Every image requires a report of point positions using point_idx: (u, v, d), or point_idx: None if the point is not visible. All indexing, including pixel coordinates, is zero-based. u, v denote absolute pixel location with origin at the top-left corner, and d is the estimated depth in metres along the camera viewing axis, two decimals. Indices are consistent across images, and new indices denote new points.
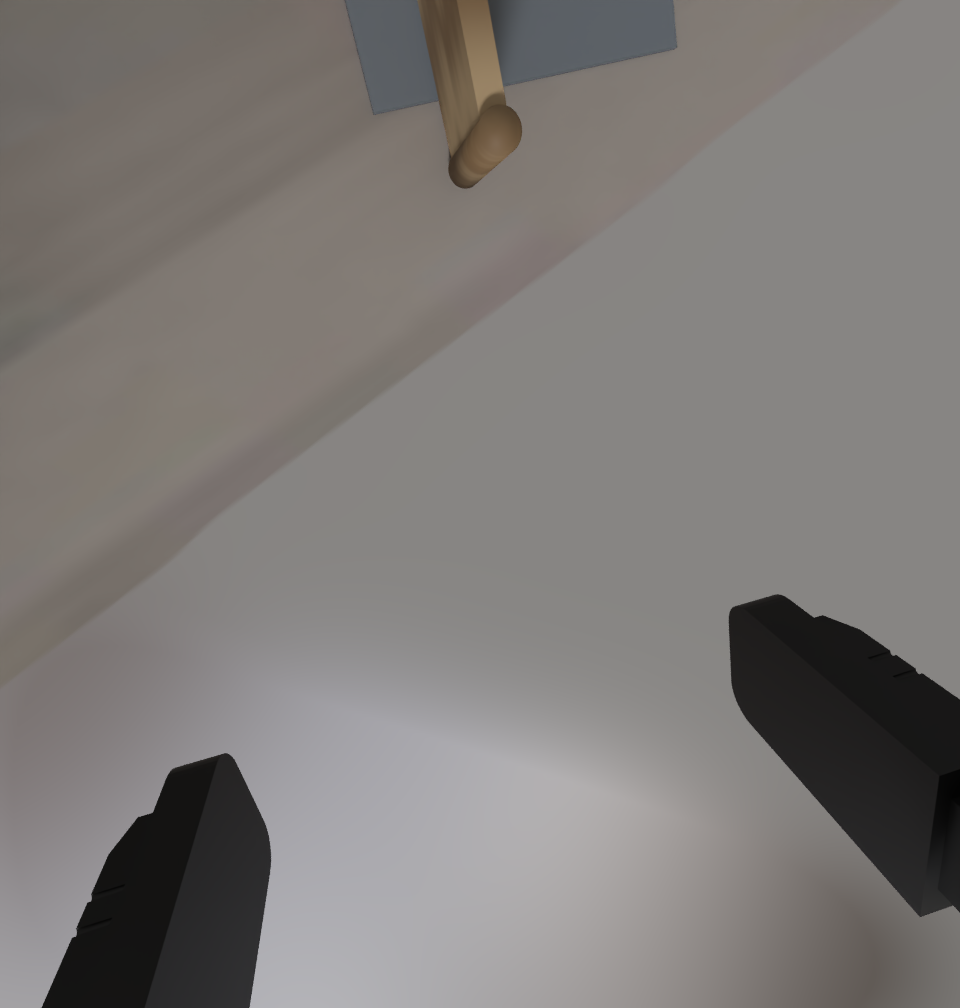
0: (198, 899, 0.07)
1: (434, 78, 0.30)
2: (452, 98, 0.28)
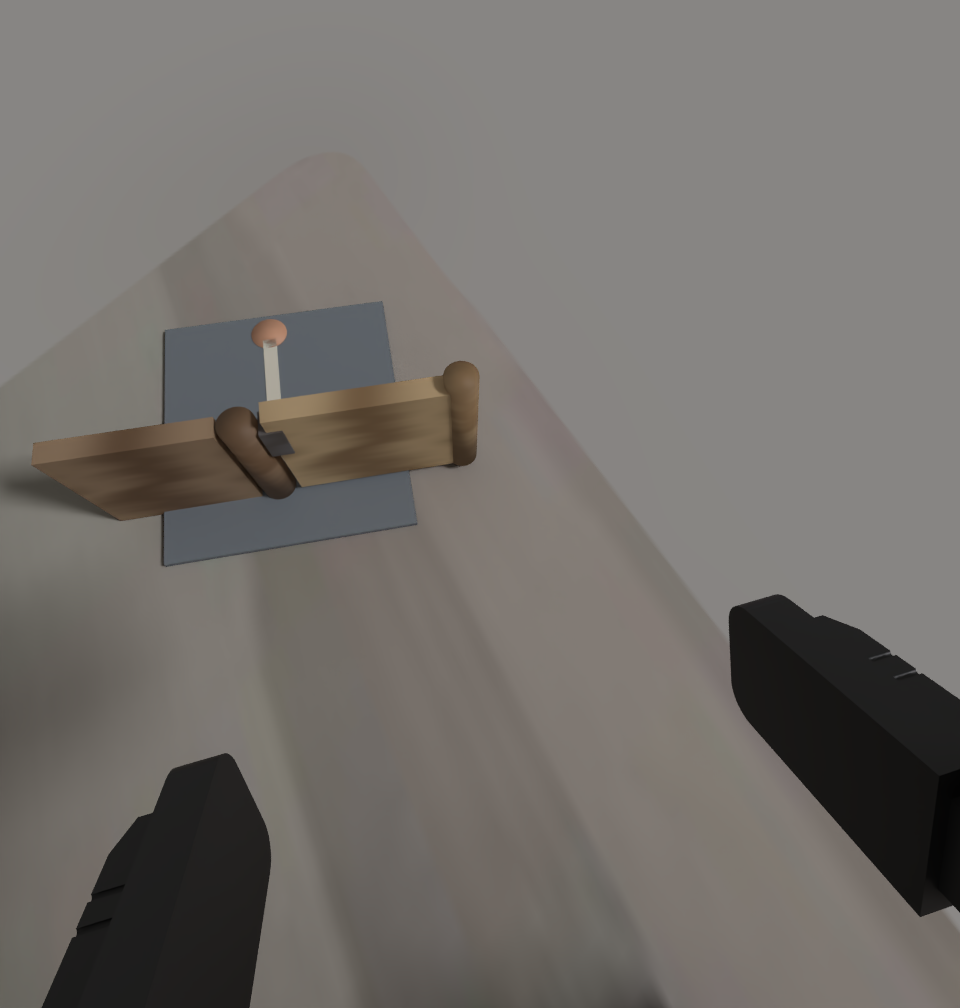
0: (199, 899, 0.07)
1: (395, 471, 0.37)
2: (419, 442, 0.34)
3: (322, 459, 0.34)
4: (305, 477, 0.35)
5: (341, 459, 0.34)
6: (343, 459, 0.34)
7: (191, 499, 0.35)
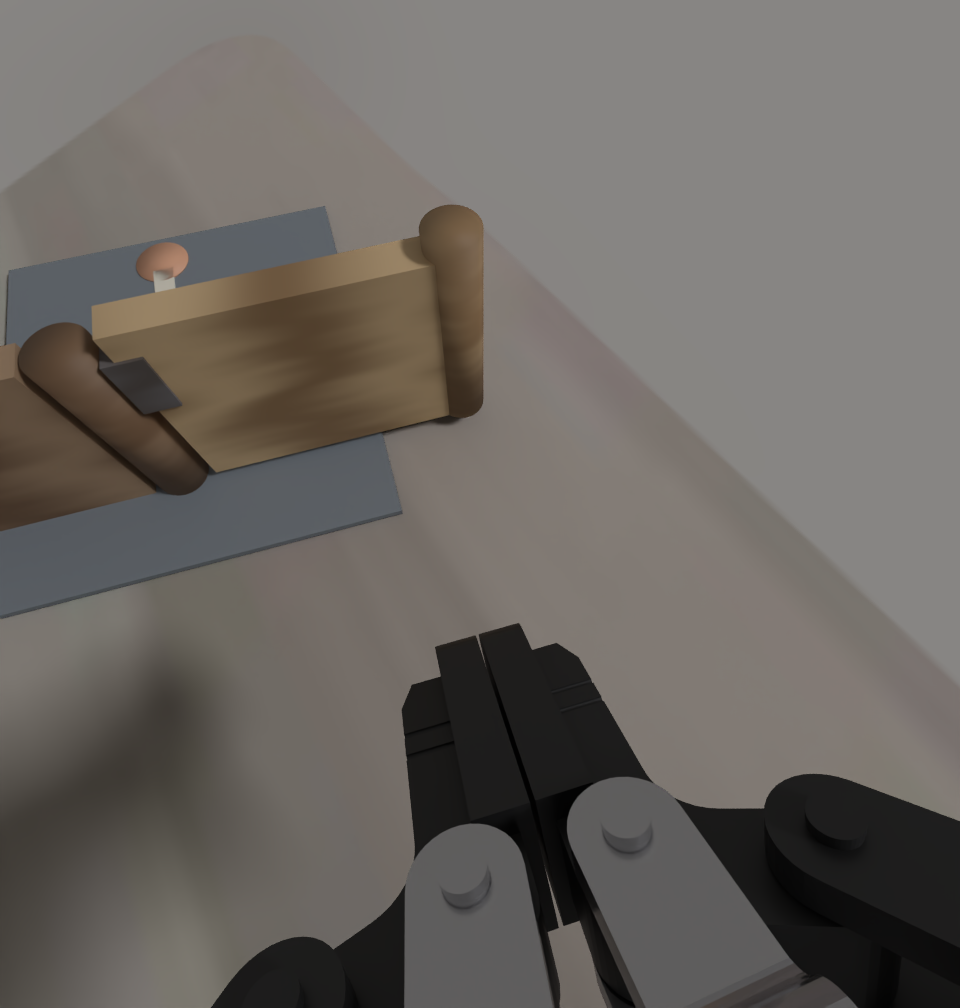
0: None
1: (361, 434, 0.24)
2: (392, 375, 0.21)
3: (235, 418, 0.21)
4: (216, 453, 0.22)
5: (268, 416, 0.21)
6: (270, 414, 0.21)
7: (36, 506, 0.22)
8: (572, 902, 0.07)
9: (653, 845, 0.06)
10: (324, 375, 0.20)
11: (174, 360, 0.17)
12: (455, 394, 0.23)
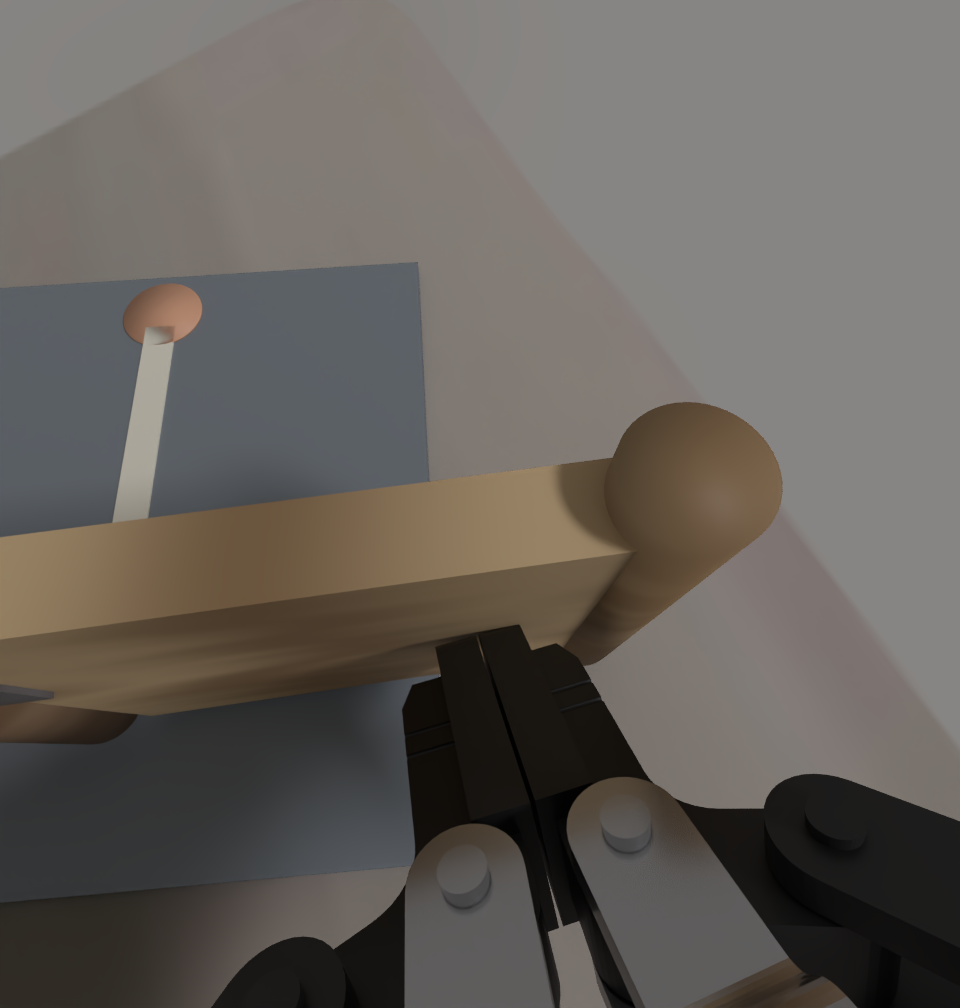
0: None
1: (403, 678, 0.14)
2: None
3: (171, 690, 0.11)
4: (146, 708, 0.12)
5: (235, 684, 0.11)
6: (240, 682, 0.11)
7: None
8: (572, 903, 0.07)
9: (653, 846, 0.06)
10: (345, 653, 0.10)
11: (7, 669, 0.08)
12: (579, 652, 0.13)
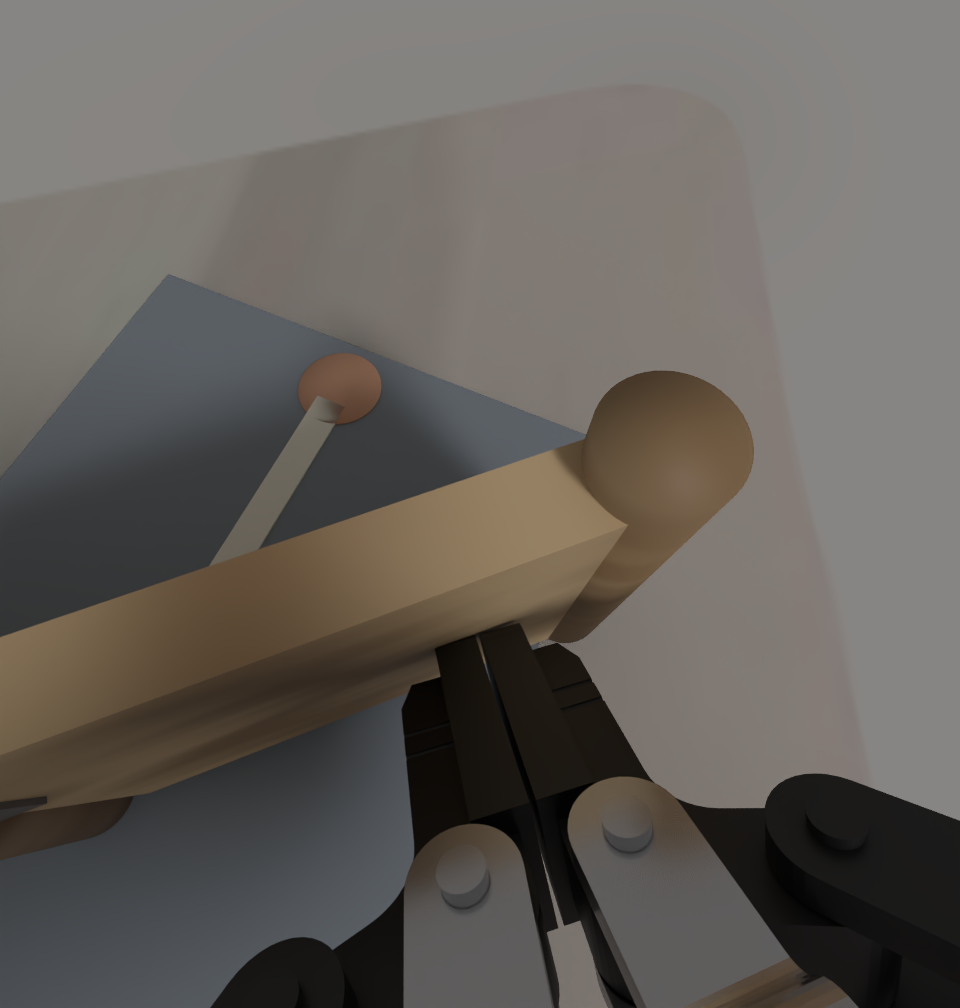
0: None
1: (403, 694, 0.14)
2: None
3: (171, 763, 0.10)
4: (144, 788, 0.12)
5: (236, 741, 0.11)
6: (242, 738, 0.11)
7: None
8: (573, 902, 0.07)
9: (654, 845, 0.06)
10: (348, 684, 0.10)
11: None
12: (571, 629, 0.13)
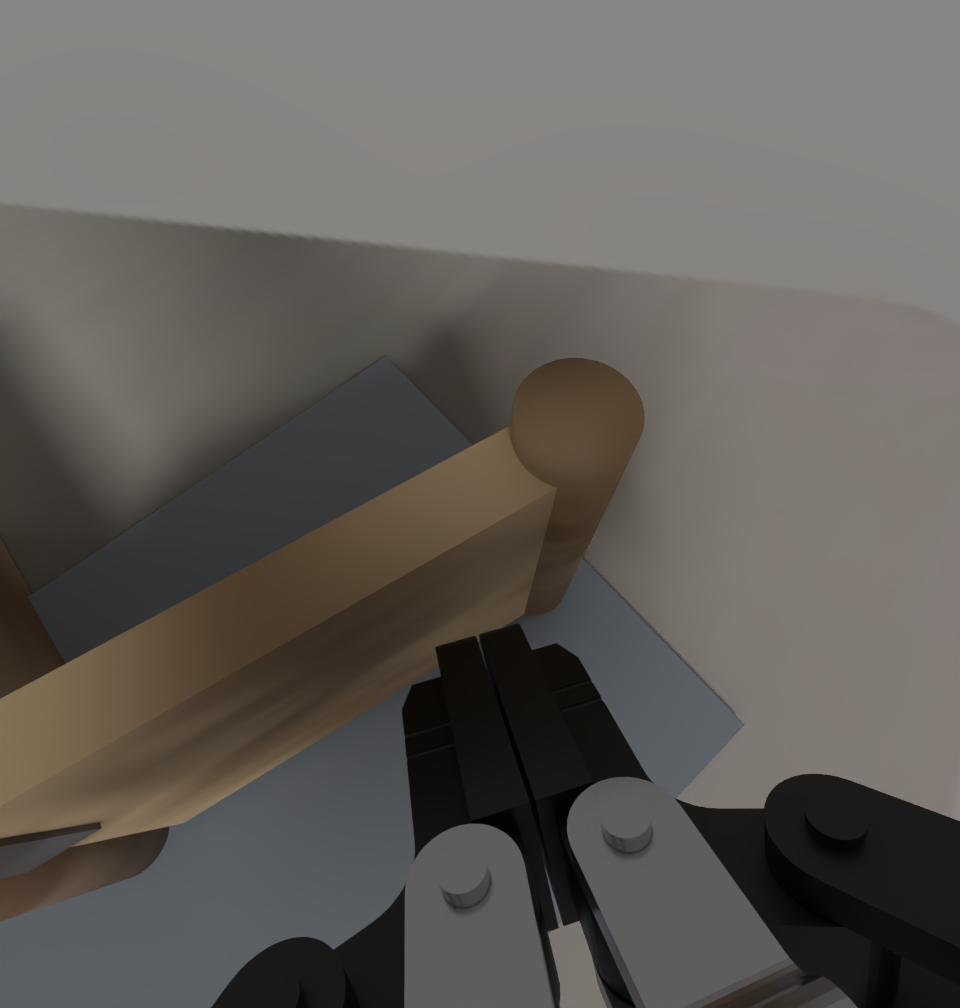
0: None
1: (402, 687, 0.15)
2: (456, 624, 0.12)
3: (203, 780, 0.11)
4: (179, 814, 0.13)
5: (260, 750, 0.12)
6: (264, 747, 0.12)
7: None
8: (572, 902, 0.07)
9: (653, 845, 0.06)
10: (351, 676, 0.11)
11: (62, 807, 0.08)
12: (541, 599, 0.14)
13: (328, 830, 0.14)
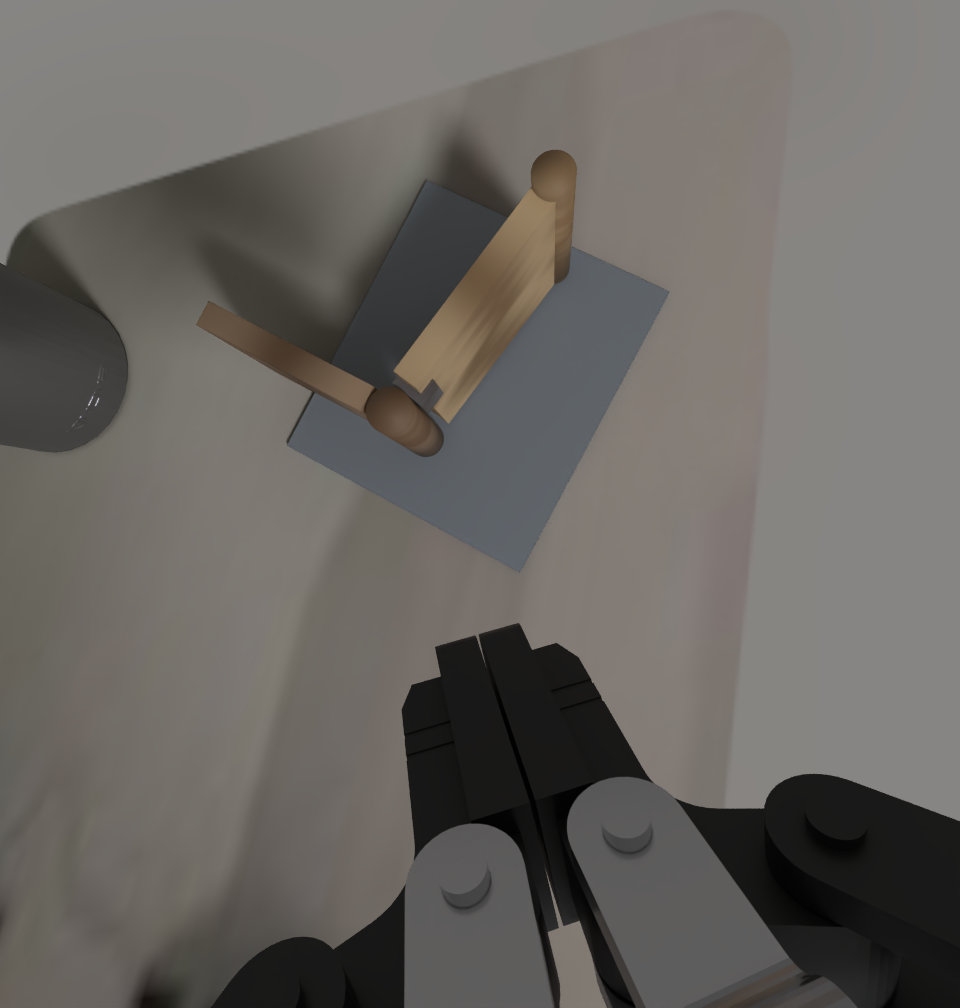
0: None
1: (513, 337, 0.32)
2: (530, 286, 0.29)
3: (461, 380, 0.29)
4: (450, 411, 0.31)
5: (475, 366, 0.30)
6: (476, 363, 0.29)
7: (339, 404, 0.32)
8: (572, 903, 0.07)
9: (653, 845, 0.06)
10: (501, 315, 0.28)
11: (443, 368, 0.26)
12: (560, 268, 0.30)
13: (506, 405, 0.32)
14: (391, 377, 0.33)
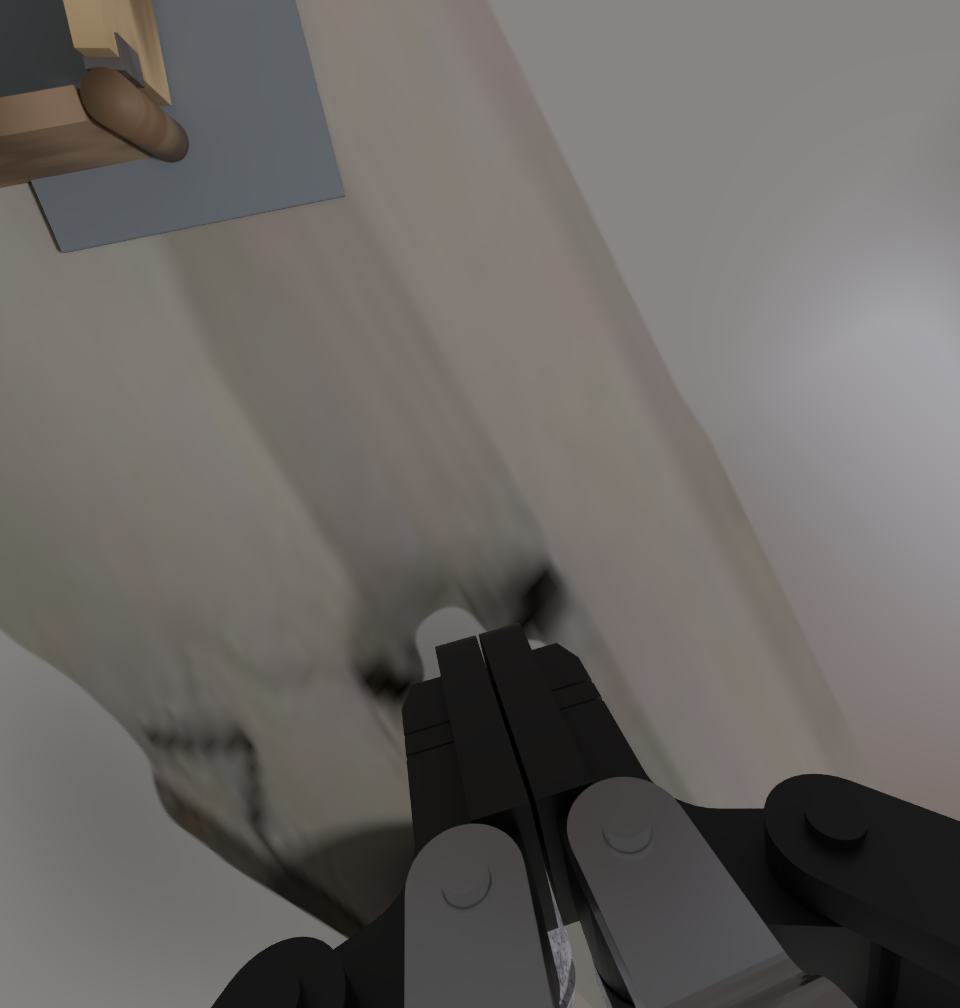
0: None
1: None
2: None
3: (140, 34, 0.26)
4: (161, 85, 0.28)
5: (138, 9, 0.26)
6: (136, 4, 0.26)
7: (63, 168, 0.29)
8: (572, 902, 0.07)
9: (654, 845, 0.06)
10: None
11: (113, 15, 0.23)
12: None
13: (202, 43, 0.29)
14: None
